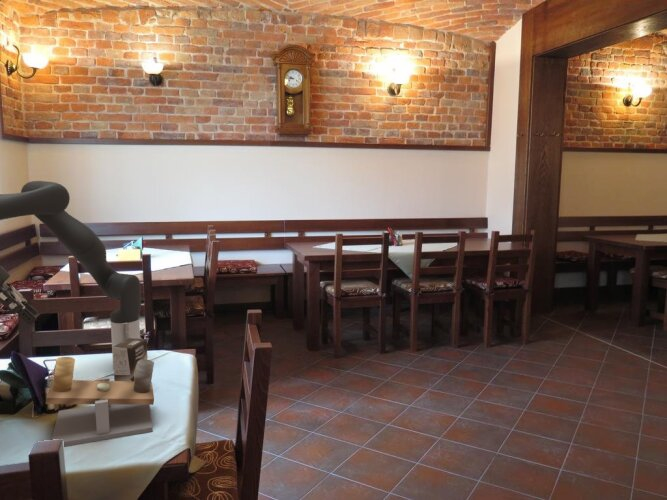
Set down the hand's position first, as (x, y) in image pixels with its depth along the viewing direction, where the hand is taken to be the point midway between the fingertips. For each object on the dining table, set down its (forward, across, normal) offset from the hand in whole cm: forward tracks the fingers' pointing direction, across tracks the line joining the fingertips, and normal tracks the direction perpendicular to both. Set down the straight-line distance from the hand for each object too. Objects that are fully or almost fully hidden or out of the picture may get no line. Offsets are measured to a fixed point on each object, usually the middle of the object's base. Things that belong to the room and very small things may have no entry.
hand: (33, 318), depth 132 cm
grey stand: (+34, +1, +8) cm, 35 cm away
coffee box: (+39, +19, -1) cm, 43 cm away
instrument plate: (+27, +1, +2) cm, 27 cm away
